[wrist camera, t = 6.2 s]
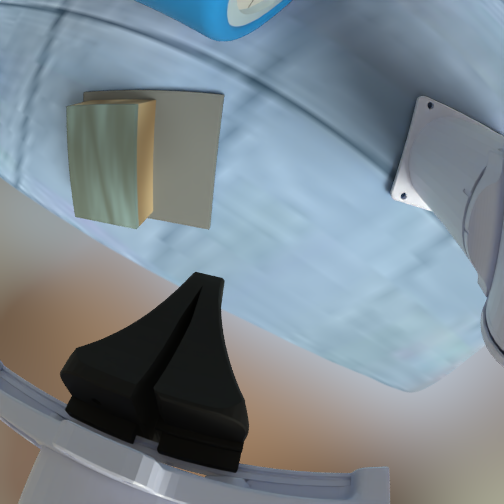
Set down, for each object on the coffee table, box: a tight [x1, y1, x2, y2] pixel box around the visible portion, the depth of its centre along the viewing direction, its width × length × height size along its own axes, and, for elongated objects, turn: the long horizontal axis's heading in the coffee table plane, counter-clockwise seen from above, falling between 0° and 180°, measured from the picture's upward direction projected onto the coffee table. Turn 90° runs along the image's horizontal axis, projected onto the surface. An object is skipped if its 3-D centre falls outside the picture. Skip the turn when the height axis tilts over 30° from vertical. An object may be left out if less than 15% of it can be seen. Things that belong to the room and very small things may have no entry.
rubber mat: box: [83, 90, 224, 229], centre depth 21 cm, size 12×10×1 cm
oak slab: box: [67, 99, 156, 229], centre depth 19 cm, size 3×9×6 cm
